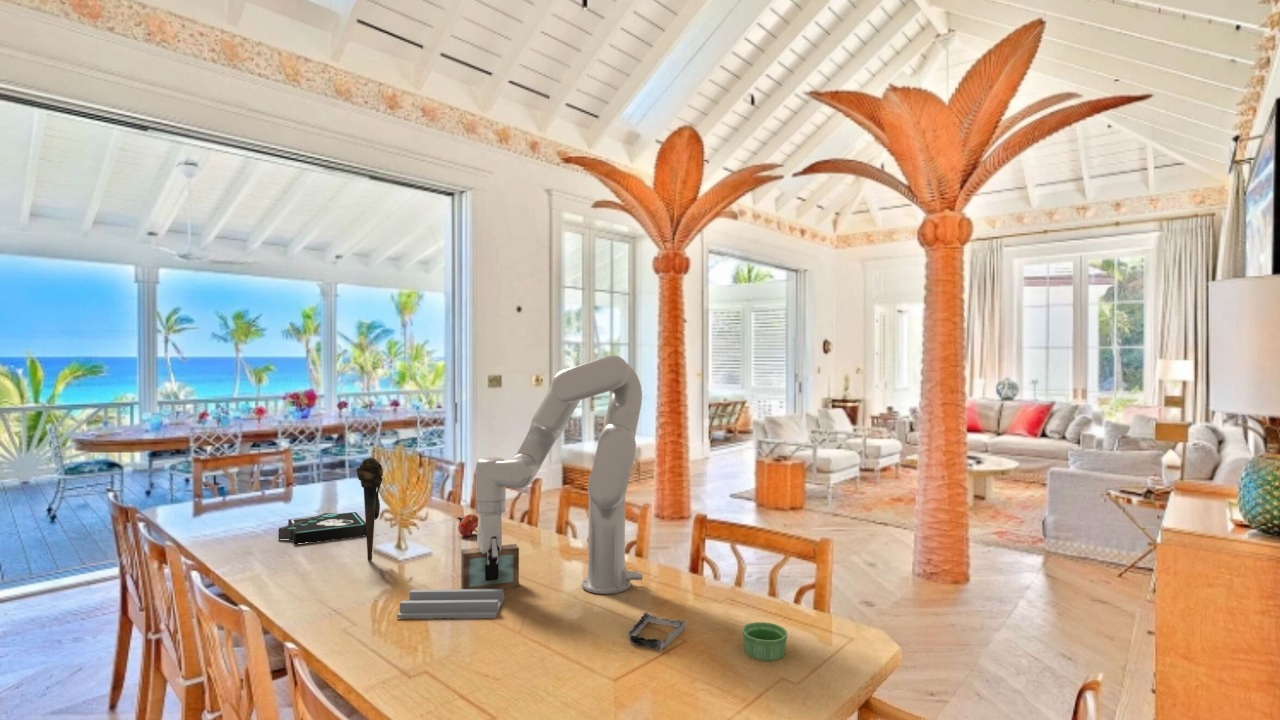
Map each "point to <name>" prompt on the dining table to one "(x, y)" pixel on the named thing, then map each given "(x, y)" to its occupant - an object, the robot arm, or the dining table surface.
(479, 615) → the display stand
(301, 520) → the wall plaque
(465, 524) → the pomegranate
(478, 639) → the dining table surface
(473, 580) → the picture frame
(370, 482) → the decorative torch
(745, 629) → the ramekin
